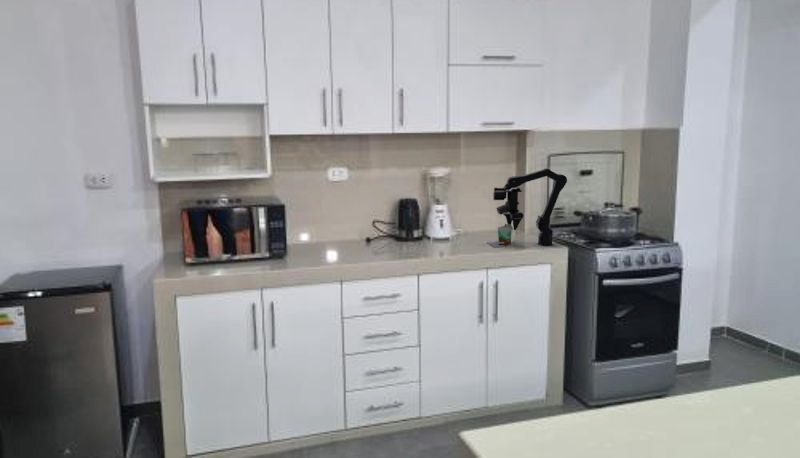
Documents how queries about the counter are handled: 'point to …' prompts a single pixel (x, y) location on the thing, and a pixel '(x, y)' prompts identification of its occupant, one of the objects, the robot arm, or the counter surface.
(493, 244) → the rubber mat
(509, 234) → the food container
